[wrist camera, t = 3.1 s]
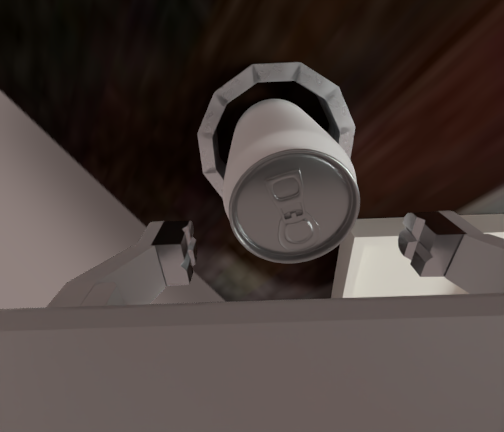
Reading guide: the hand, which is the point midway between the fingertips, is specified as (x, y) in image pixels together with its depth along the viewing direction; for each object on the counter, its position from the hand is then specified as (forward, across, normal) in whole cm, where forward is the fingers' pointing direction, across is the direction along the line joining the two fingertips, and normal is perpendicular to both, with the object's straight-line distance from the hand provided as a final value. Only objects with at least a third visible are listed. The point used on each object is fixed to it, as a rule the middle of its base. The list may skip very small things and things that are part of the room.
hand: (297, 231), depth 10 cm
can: (+13, 0, 0) cm, 13 cm away
